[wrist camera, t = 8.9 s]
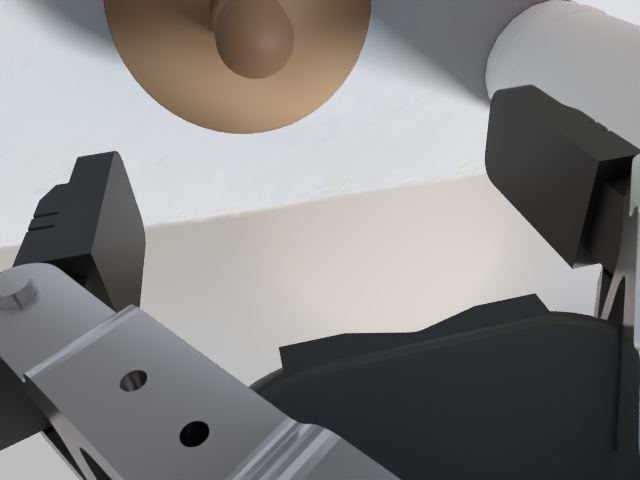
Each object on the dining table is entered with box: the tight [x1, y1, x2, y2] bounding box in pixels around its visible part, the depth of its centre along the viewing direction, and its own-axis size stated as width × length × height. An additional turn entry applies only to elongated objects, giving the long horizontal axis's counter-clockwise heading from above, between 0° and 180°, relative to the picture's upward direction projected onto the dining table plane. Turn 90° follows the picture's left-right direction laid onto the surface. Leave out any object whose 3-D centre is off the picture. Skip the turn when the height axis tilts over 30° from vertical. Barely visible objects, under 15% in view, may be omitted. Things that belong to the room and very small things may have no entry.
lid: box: [104, 0, 371, 134], centre depth 23 cm, size 12×12×6 cm
